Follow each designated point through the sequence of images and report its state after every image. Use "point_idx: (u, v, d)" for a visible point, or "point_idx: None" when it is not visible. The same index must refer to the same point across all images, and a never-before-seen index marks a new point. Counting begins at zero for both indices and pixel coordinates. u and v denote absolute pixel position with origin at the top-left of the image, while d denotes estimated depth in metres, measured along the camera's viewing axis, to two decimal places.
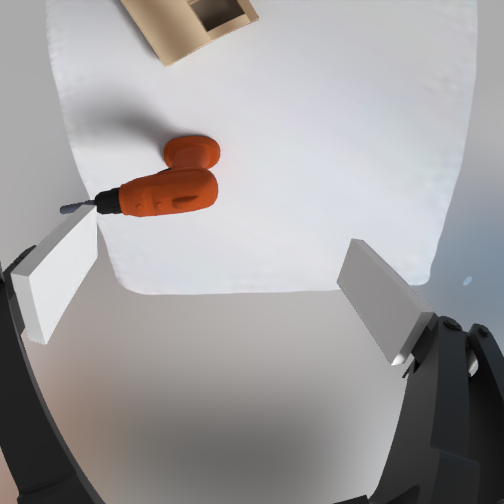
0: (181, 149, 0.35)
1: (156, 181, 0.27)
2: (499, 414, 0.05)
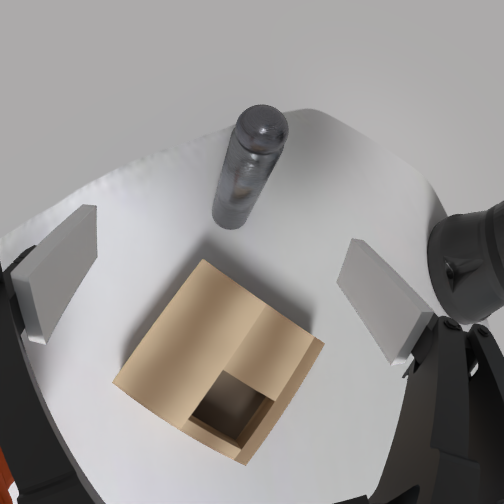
0: None
1: None
2: (499, 414, 0.05)
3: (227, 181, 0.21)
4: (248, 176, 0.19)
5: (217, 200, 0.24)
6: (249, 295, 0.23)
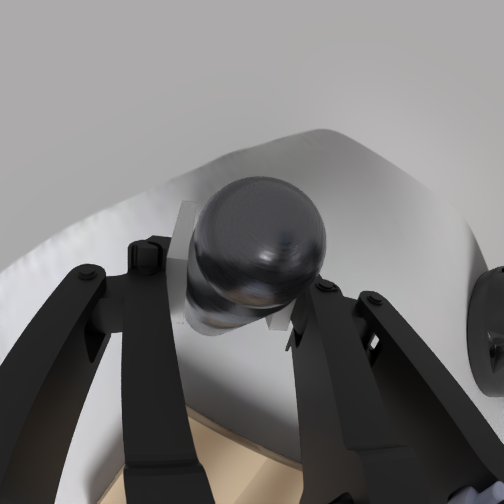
0: None
1: None
2: (427, 399, 0.06)
3: (194, 310, 0.11)
4: (232, 323, 0.09)
5: (186, 311, 0.15)
6: (242, 450, 0.13)
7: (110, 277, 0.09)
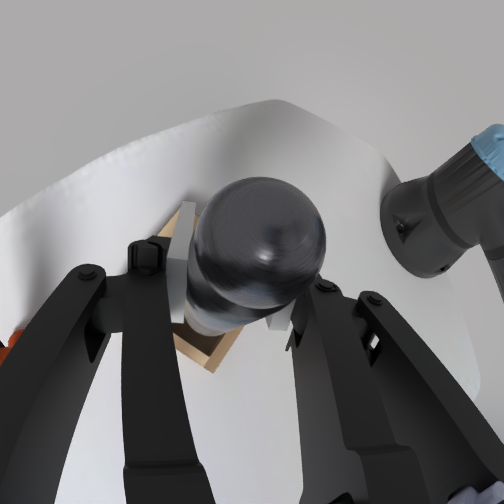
0: None
1: None
2: (427, 399, 0.06)
3: (194, 310, 0.11)
4: (232, 323, 0.09)
5: (186, 311, 0.15)
6: None
7: (110, 277, 0.09)
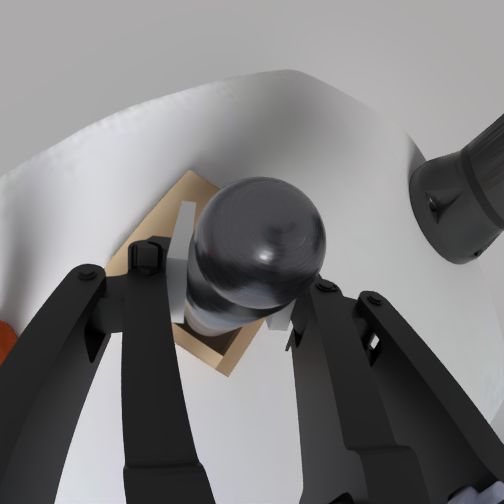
0: (0, 346, 0.16)
1: None
2: (427, 399, 0.06)
3: (194, 310, 0.11)
4: (232, 323, 0.09)
5: (186, 311, 0.15)
6: None
7: (110, 277, 0.09)
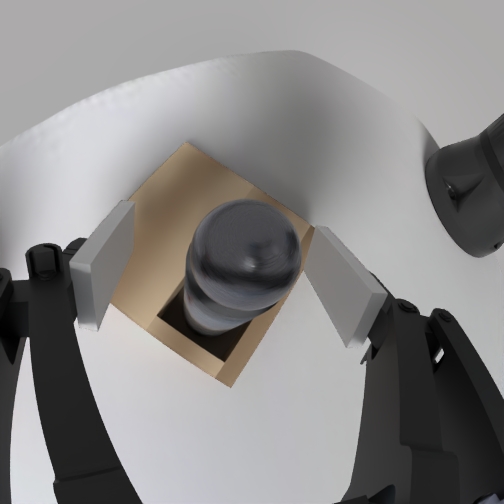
0: None
1: None
2: (474, 405, 0.06)
3: (192, 312, 0.12)
4: (224, 323, 0.11)
5: (185, 314, 0.16)
6: (235, 176, 0.20)
7: (20, 281, 0.07)
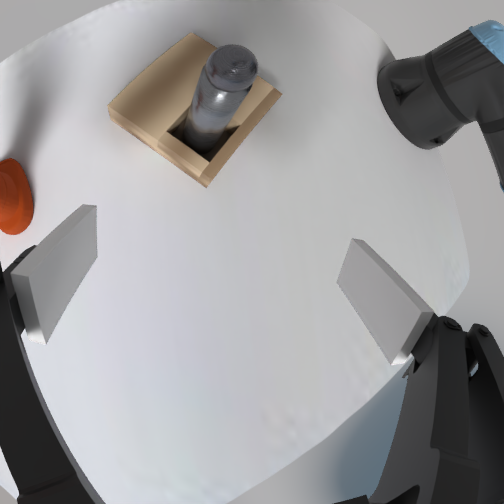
0: (9, 176, 0.19)
1: None
2: (499, 414, 0.05)
3: (196, 113, 0.19)
4: (216, 110, 0.18)
5: (186, 128, 0.23)
6: None
7: None
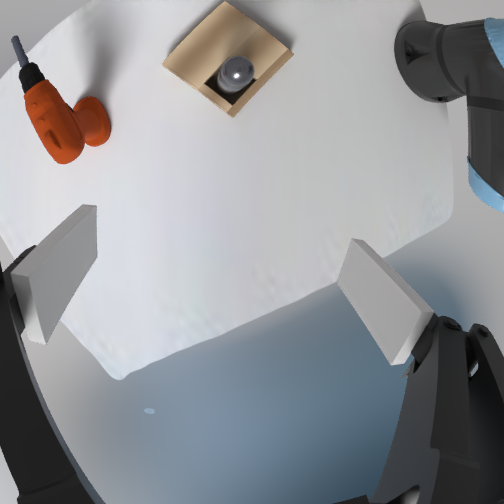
0: (92, 111, 0.32)
1: (59, 107, 0.23)
2: (499, 414, 0.05)
3: (220, 84, 0.29)
4: (231, 88, 0.27)
5: (217, 83, 0.32)
6: (250, 20, 0.29)
7: None
